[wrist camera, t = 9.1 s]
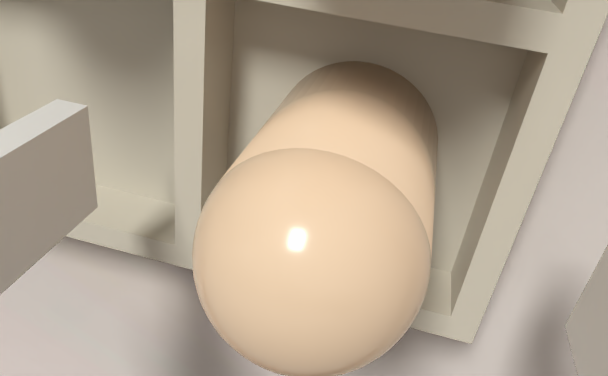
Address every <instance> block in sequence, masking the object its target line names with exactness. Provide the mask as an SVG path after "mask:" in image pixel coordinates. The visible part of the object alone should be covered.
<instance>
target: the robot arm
mask: <svg viewBox="0 0 608 376" xmlns="http://www.w3.org/2000/svg"><path fill="white" fill-rule="evenodd" d="M97 207H98V204H97V194H96V184H95V174H94V164H93V154H92V144H91V134H90V124H89V113H88V106H87V105H82V104H78V103H73V102H69V101H64V100H60V99H56V100H54V101H52V102H51V103H49V104H47V105H45V106H43V107H41V108H39V109H37V110H36V111H34V112H32V113H30V114H28V115H26V116H24V117H22V118H21V119H19V120H17V121H15V122H13V123H11V124H9V125H7V126H6V127H4V128H2V129H0V295H1V294H2V293H3V292H4V291H5V290H6V289H7V288H8V287H10V286H11V285H12V284H13V283H14V282H15V281H16V280H17V279H18V278H20V277H21V276H22V275H23V274H24V273H25V272H26V271H27V270H28V269H30V268H31V267H32V266H33V265H34V264H35V263H36V262H37V261H38V260H40V259H41V258H42V257H43V256H44V255H45V254H46V253H47V252H48V251H50V250H51V249H52V248H53V247H54V246H55V245H56V244H57V243H58V242H60V241H61V240H62V239H63V238H64V237H65V236H66V235H67V234H68V233H70V232H71V231H72V230H73V229H74V228H75V227H76V226H77V225H78V224H80V223H81V222H82V221H83V220H84V219H85V218H86V217H87V216H88V215H90V214H91V213H92V212H93V211H94V210H95V209H96V208H97ZM565 329H566V332H567V336H568V340H569V344H570V348H571V352H572V356H573V360H574V364H575V367H576V371H577V375H578V376H608V245H607V247H606V249H605V251H604V253H603V255H602V257H601V259H600V260H599V262H598V264H597V266H596V268H595V270H594V272H593V274H592V275H591V277H590V279H589V281H588V283H587V285H586V287H585V289H584V291H583V292H582V294H581V296H580V298H579V300H578V302H577V304H576V306H575V307H574V309H573V311H572V313H571V315H570V317H569V319H568V321H567V323H566V324H565Z"/></svg>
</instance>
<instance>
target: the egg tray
mask: <svg viewBox="0 0 608 376" xmlns="http://www.w3.org/2000/svg"><path fill="white" fill-rule="evenodd" d="M607 15H608V0H0V129H2V128H4V127H6V126H7V125H9V124H11V123H13V122H15V121H17V120H19V119H21V118H22V117H24V116H26V115H28V114H30V113H32V112H34V111H36V110H37V109H39V108H41V107H43V106H45V105H47V104H49V103H51V102H52V101H54V100H56V99H60V100H64V101H69V102H73V103H78V104H82V105H87V106H88V113H89V124H90V134H91V144H92V154H93V164H94V174H95V184H96V194H97V204H98V207H97V208H96V209H95V210H94V211H93V212H92V213H91V214H90V215H88V216H87V217H86V218H85V219H84V220H83V221H82V222H81V223H80V224H78V225H77V226H76V227H75V228H74V229H73V230H72V231H71V232H70V233H68V234H67V235H66V237H70V238H74V239H77V240H81V241H85V242H89V243H93V244H96V245H100V246H104V247H108V248H111V249H115V250H119V251H123V252H126V253H130V254H134V255H138V256H142V257H145V258H149V259H153V260H157V261H160V262H164V263H168V264H172V265H175V266H179V267H183V268H187V269H191V270H193V265H192V248H193V239H194V233H195V229H196V225H197V221H198V219H199V216H200V213H201V211H202V209H203V206H204V204H205V202H206V200H207V198H208V197H209V195H210V194H211V192H212V191H213V189H214V188H215V186H216V185H217V183H218V182H219V180H220V179H221V178H222V177H223V175H224V174H225V173H226V172H227V170H228V169H229V168H230V167H231V165H232V164H233V163H234V162H235V160H236V159H237V158H238V157H239V155H240V154H241V153H242V152H243V150H244V149H245V148H246V147H247V145H248V144H249V143H250V142H251V140H252V139H253V138H254V137H255V135H256V134H257V133H258V131H259V130H260V129H261V128H262V126H263V125H264V124H265V123H266V121H267V120H268V119H269V118H270V116H271V115H272V114H273V113H274V111H275V110H276V109H277V108H278V106H279V105H280V104H281V103H282V101H283V100H284V99H285V98H286V96H287V95H288V94H289V93H290V91H291V90H292V89H293V88H294V87H295V86H296V84H297V83H298V82H299V81H301V80H302V79H303V78H304V77H305V76H307V75H308V74H310V73H312V72H313V71H315V70H317V69H319V68H321V67H324V66H326V65H330V64H334V63H338V62H345V61H361V62H369V63H373V64H377V65H381V66H383V67H386V68H388V69H391V70H393V71H395V72H396V73H398V74H400V75H402V76H403V77H404V78H406V79H407V80H408V81H410V82H411V83H412V84H413V85H414V86H415V87H416V88H417V89H418V90H419V91H420V92H421V94H422V95H423V96H424V98H425V99H426V101H427V102H428V104H429V106H430V108H431V110H432V112H433V115H434V117H435V121H436V125H437V131H438V152H437V169H436V187H435V204H434V222H433V240H432V257H431V273H430V278H429V284H428V288H427V292H426V295H425V298H424V300H423V303H422V305H421V308H420V310H419V312H418V315H417V316H416V318H415V319H414V321H413V323H412V324H411V326H410V327H409V328H413V329H417V330H420V331H424V332H428V333H432V334H435V335H439V336H443V337H447V338H450V339H454V340H458V341H462V342H466V343H469V344H472V342H473V340H474V337H475V335H476V332H477V330H478V328H479V325H480V323H481V320H482V318H483V315H484V313H485V311H486V308H487V306H488V303H489V301H490V298H491V296H492V294H493V291H494V289H495V286H496V284H497V281H498V279H499V277H500V274H501V272H502V269H503V267H504V265H505V262H506V260H507V257H508V255H509V252H510V250H511V248H512V245H513V243H514V240H515V238H516V235H517V233H518V231H519V228H520V226H521V223H522V221H523V218H524V216H525V214H526V211H527V209H528V206H529V204H530V202H531V199H532V197H533V194H534V192H535V189H536V187H537V185H538V182H539V180H540V177H541V175H542V172H543V170H544V168H545V165H546V163H547V160H548V158H549V155H550V153H551V151H552V148H553V146H554V143H555V141H556V139H557V136H558V134H559V131H560V129H561V126H562V124H563V122H564V119H565V117H566V114H567V112H568V109H569V107H570V105H571V102H572V100H573V97H574V95H575V92H576V90H577V88H578V85H579V83H580V80H581V78H582V76H583V73H584V71H585V68H586V66H587V63H588V61H589V59H590V56H591V54H592V51H593V49H594V46H595V44H596V42H597V39H598V37H599V34H600V32H601V29H602V27H603V25H604V22H605V20H606V17H607Z"/></svg>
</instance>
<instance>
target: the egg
mask: <svg viewBox="0 0 608 376" xmlns="http://www.w3.org/2000/svg"><path fill="white" fill-rule="evenodd" d="M437 152H438V131H437V125H436V121H435V117H434V115H433V112H432V110H431V108H430V106H429V104H428V102H427V101H426V99H425V98H424V96H423V95H422V94H421V92H420V91H419V90H418V89H417V88H416V87H415V86H414V85H413V84H412V83H411V82H410V81H408V80H407V79H406V78H404V77H403V76H402V75H400V74H398V73H396V72H395V71H393V70H391V69H388V68H386V67H383V66H381V65H377V64H373V63H369V62H361V61H345V62H338V63H334V64H330V65H326V66H324V67H321V68H319V69H317V70H315V71H313V72H312V73H310V74H308V75H307V76H305V77H304V78H303V79H302V80H301V81H299V82H298V83H297V84H296V86H295V87H294V88H293V89H292V90H291V91H290V93H289V94H288V95H287V96H286V98H285V99H284V100H283V101H282V103H281V104H280V105H279V106H278V108H277V109H276V110H275V111H274V113H273V114H272V115H271V116H270V118H269V119H268V120H267V121H266V123H265V124H264V125H263V126H262V128H261V129H260V130H259V131H258V133H257V134H256V135H255V137H254V138H253V139H252V140H251V142H250V143H249V144H248V145H247V147H246V148H245V149H244V150H243V152H242V153H241V154H240V155H239V157H238V158H237V159H236V160H235V162H234V163H233V164H232V165H231V167H230V168H229V169H228V170H227V172H226V173H225V174H224V175H223V177H222V178H221V179H220V180H219V182H218V183H217V185H216V186H215V188H214V189H213V191H212V192H211V194H210V195H209V197H208V198H207V200H206V202H205V204H204V206H203V209H202V211H201V213H200V216H199V219H198V221H197V225H196V229H195V233H194V239H193V248H192V265H193V277H194V282H195V287H196V290H197V294H198V297H199V300H200V302H201V305H202V307H203V309H204V311H205V313H206V315H207V317H208V319H209V320H210V322H211V324H212V325H213V327H214V328H215V330H216V331H217V332H218V334H219V335H220V336H221V337H222V338H223V339H224V340H225V341H226V342H227V343H228V344H229V345H230V346H231V347H232V348H233V349H234V350H235V351H237V352H238V353H239V354H240V355H242V356H243V357H244V358H246V359H247V360H249V361H250V362H252V363H254V364H256V365H258V366H259V367H262V368H264V369H266V370H269V371H271V372H274V373H277V374H281V375H285V376H338V375H342V374H345V373H349V372H352V371H355V370H357V369H360V368H362V367H364V366H366V365H368V364H369V363H371V362H373V361H374V360H376V359H378V358H379V357H381V356H382V355H384V354H385V353H386V352H387V351H389V350H390V349H391V348H392V347H393V346H394V345H395V344H396V343H397V342H398V341H399V340H400V339H401V338H402V337H403V335H404V334H405V333H406V332H407V330H408V329H409V327H410V326H411V324H412V323H413V321H414V319H415V318H416V316H417V315H418V312H419V310H420V308H421V305H422V303H423V300H424V298H425V295H426V292H427V288H428V284H429V278H430V273H431V257H432V240H433V222H434V204H435V187H436V169H437Z"/></svg>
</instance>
